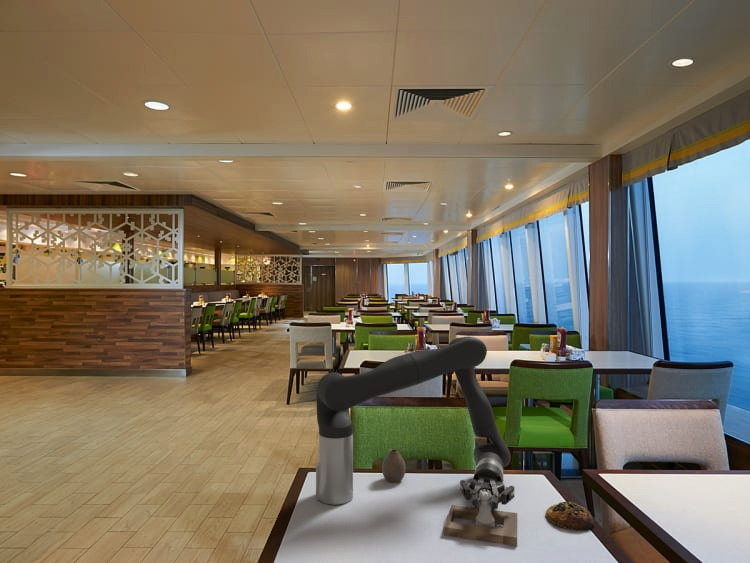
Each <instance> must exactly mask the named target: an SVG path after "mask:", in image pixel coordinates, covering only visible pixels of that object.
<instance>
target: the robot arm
mask: <svg viewBox="0 0 750 563" xmlns="http://www.w3.org/2000/svg"><path fill="white" fill-rule="evenodd" d="M487 349H488V348H487V346H486V344H485V343H484V342H483V340H481V339H480V338H478V337H475V336H469V335H468V336H461V337H456V338H453V339H452V340H451V341H450V342H449V343H448V345H446V346H443V347H439V348H433V349H432V348H431V349H424V350H418V351H417V350H416V351H413V352H408V353H404V354H402V355H398V356H395V357H392V358H390V359H387V360H386V361H384V362H383V363H381V364H379V365H378V366H376V367H375V368H373V369H371V370H368V371H366V372H361V373H358V374H353V375H352V374H351V375H346V376H345V375H343V374H342V373H339V372H328V373H326V374H324V375H323V376H322V377H320V379H319V381H318V383H317V386H316V396H315V397H316V421H317V426H318V461H317V462H316V464H315V500H317V501H320V502H322V503H323V504H326V505H335V506H336V505H344V504H346V503H349V502H351V501H352V500H353V498H354V497H353V496H354V424H353V421H352V418H351V415H350V408H353V407H355V406H359V405H360V404H362V403H364V402H367V401H369V400H371V399H373V398H377V397H380V396H384V395H388V394H390V393H394V392H397V391H401V390H405V389H408V388H411V387H414V386H417V385H420V384H423V383H426V382H428V381H430V380H433V379H436V378H438V377H441V376H442V375H445V374H448V373H452V372H454V375H455V377H456V379H457V382H458V384H459V387H460V390H461V392H462V395H463V398H464V400H465V404H466V408H467V410H468V414H469V418H470V422H471V426H472V430H473V434H474V435H475V437H478V438H480V439H481V438H484V439H489V440H491V441H492V442H488V443H483V444H478V445H476V447H474V450H473V458H474V461H475V464H476V466H475V470H474V473H473V478H472V480H470V482H466V480H464V479H460V482H459V483H460V485H459V486H460V489H459V490H460V493H461V494H462V496H463V497H464V499H465V500H466V501H471V507H474V508H479V507H478V506H479V501H480V498H479V496H478V494H479V493H480V490H482V491H483V489H485V491H486V492H487V490H489V492H491V495H492V498H491V499H490V501H491V510H492V511H495V510H498V508H499V505H500V504H501V505H504V506H506V505H507V504H508V503H509V502H511V501H512V500H513V499H515V486H514V485H509V486H505V485H504V481H505V480H504V467H507V466H509V464H510V463H511V461H512V460H511V458H512V456H511V452H510V450H509V448H508V446H507V444H506V442H505V441H504V439H503V437H502V435H501V433H500V432H499V428H498V426H497V422H496V418H495V415H494V411H493V408H492V405H491V403H490V401H489V399H488V397H487V395H486V393H485V392H484V390H483V388H482V386H481V385H480V383H479V381H478V379H477V376H476V372H475V369H474V368H475V367H478V366H479V365H481V364H482V363H483V362H484V361H485V359H486V357H487V354H488V352H487V351H488V350H487Z"/></svg>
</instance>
